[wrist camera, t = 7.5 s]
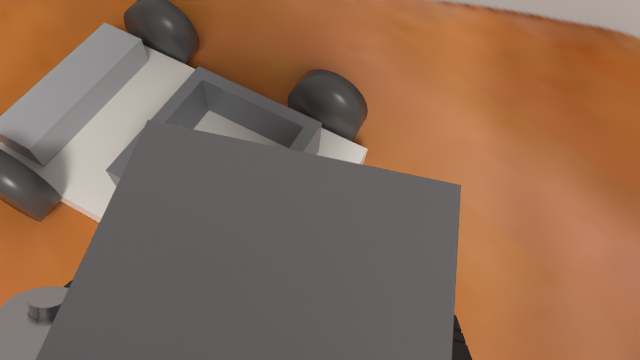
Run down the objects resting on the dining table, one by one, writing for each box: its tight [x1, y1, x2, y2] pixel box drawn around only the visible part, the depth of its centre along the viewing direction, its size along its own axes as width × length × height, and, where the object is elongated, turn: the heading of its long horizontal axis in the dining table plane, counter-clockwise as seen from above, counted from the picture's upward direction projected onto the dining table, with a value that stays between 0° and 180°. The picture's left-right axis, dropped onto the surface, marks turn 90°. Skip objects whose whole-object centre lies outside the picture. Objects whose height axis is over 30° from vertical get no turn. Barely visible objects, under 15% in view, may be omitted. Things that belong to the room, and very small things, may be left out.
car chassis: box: [0, 0, 368, 223], centre depth 29 cm, size 20×15×5 cm
